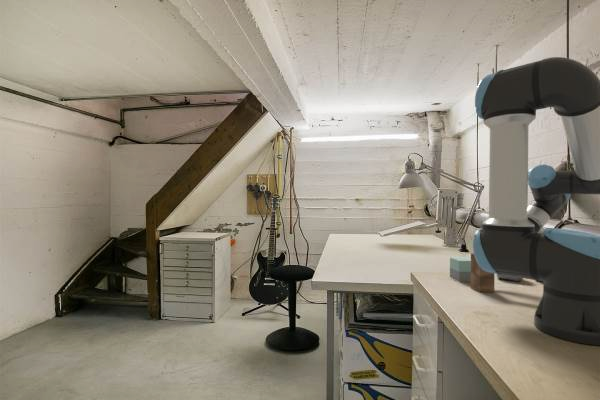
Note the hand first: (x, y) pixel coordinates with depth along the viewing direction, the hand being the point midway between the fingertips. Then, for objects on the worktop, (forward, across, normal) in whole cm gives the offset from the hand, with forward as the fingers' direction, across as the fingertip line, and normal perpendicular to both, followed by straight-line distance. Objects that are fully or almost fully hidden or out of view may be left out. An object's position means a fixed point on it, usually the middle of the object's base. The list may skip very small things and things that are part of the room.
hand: (487, 266), depth 110 cm
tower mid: (+3, +14, -2) cm, 14 cm away
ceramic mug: (-7, +14, -18) cm, 24 cm away
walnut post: (+7, -1, -4) cm, 8 cm away
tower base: (+6, +14, -5) cm, 16 cm away
